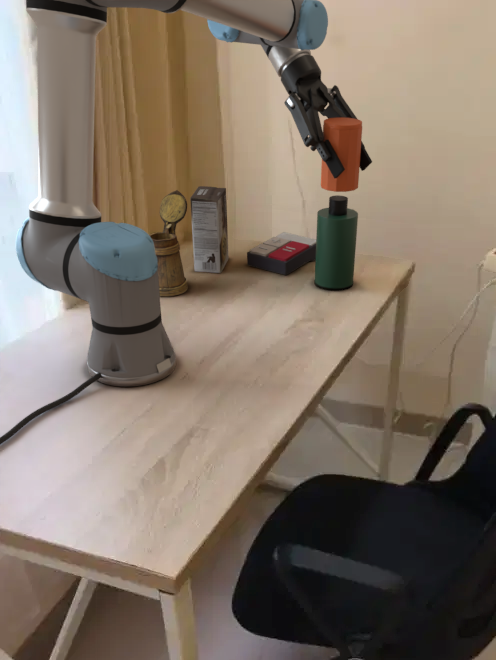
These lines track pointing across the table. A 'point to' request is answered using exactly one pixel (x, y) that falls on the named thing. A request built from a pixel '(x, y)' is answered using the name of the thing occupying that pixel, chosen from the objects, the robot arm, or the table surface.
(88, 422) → the table surface
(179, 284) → the wooden mug
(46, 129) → the robot arm
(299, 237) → the red and grey box
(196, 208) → the coffee box
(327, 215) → the flask
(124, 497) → the table surface
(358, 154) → the cap
